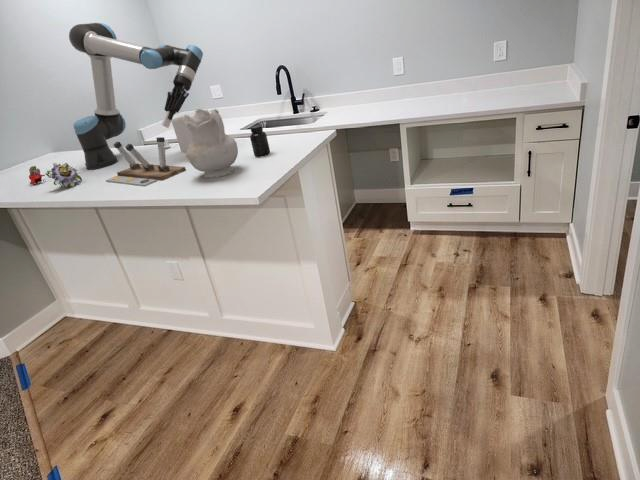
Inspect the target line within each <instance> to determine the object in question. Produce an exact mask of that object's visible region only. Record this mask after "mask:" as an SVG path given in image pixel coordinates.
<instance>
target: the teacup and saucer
mask: <svg viewBox="0 0 640 480" xmlns="http://www.w3.org/2000/svg"><path fill="white" fill-rule="evenodd" d="M164 140H165V142H164V147H165V150H167V149H171V148H172V145H173V146H174V147H175V146H176V145H175V144H170V143H169V142H170V141H169V139H164Z"/></svg>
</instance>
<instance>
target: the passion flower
mask: <svg viewBox="0 0 640 480" xmlns="http://www.w3.org/2000/svg"><path fill="white" fill-rule="evenodd" d="M80 174H81V170H80V169H79V170H78V169H76V166H71V165H69V163H68V162H65V163H63V164H61V163H59V164H58V163H57V162H53V167H52V168H51V170H50V169H49V170H46V172H45V176H47V178H49V179H50V178H51V179H53V180H54V181H53V185H55V186H56V185H60V186H61V187H64V188H68V187H70V188H74V187H75V182H74V181H76V182H80V181H81V182H82V177H81V176H80Z"/></svg>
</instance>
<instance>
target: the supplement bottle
mask: <svg viewBox="0 0 640 480" xmlns="http://www.w3.org/2000/svg"><path fill="white" fill-rule="evenodd" d="M250 133H251V134H250V136H249V138H250V143H251V148H252V151H253V155H254V157H255V158H262V157H261V156H264V157H266V156H265V155H267V156H269V155H270V154H271V150H270V145H269V141H268V135H267V133H266V131H264V129H263V125H262V124H259V125H258V124H257V125H253V126H251V127H250ZM268 154H269V155H268Z"/></svg>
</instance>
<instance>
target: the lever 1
mask: <svg viewBox="0 0 640 480" xmlns="http://www.w3.org/2000/svg"><path fill="white" fill-rule="evenodd" d="M113 147H114V148H115V149H117V151H119V153H120V154H121V155H122V157H123V158H124V159H125V160H126V162H128V164H130V165H131V167H132V168H135V166H134V165H135V164H137V162H136V161H135V160H134V159H133V157H132V156H131V155H130V154H129V152H128V150H127V149H126V148H125V147H124V146H123V144H122V143H121V141H116V142H115V143H113Z"/></svg>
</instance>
